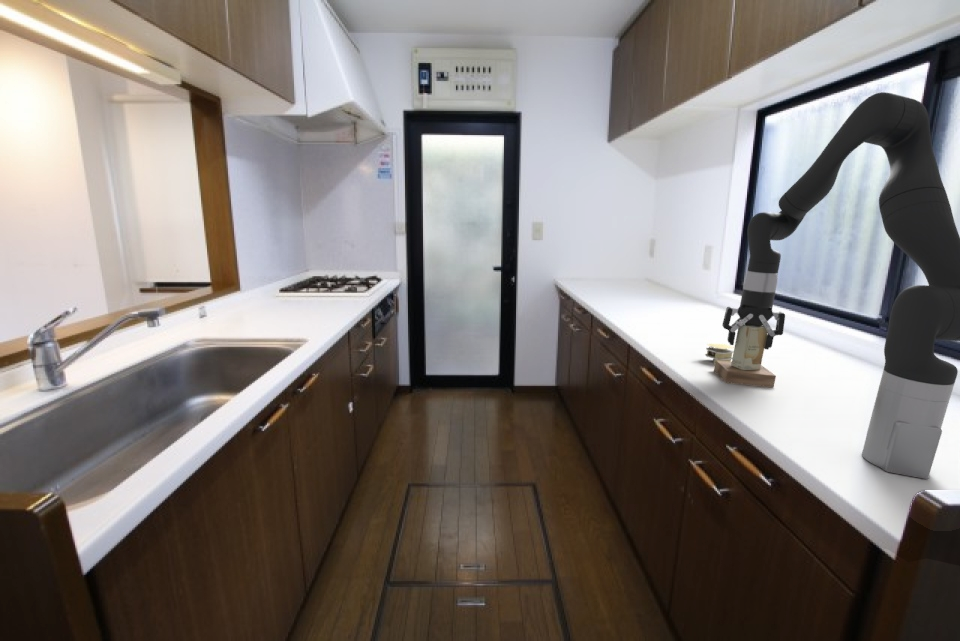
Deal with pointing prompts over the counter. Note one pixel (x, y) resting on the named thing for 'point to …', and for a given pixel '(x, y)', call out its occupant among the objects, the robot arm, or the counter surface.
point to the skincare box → (749, 347)
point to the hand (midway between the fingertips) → (748, 346)
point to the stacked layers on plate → (719, 352)
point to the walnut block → (744, 375)
